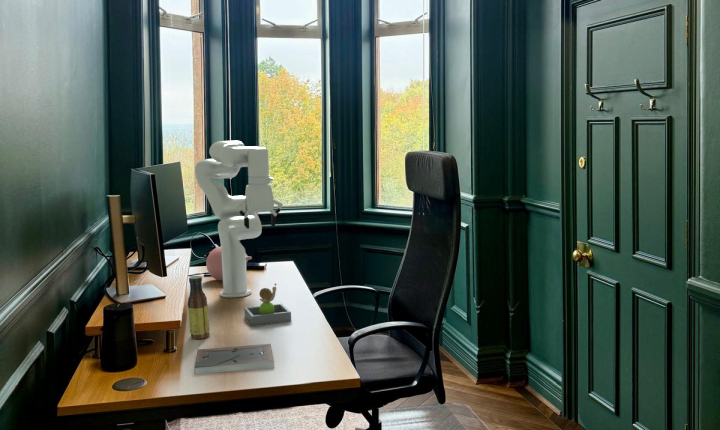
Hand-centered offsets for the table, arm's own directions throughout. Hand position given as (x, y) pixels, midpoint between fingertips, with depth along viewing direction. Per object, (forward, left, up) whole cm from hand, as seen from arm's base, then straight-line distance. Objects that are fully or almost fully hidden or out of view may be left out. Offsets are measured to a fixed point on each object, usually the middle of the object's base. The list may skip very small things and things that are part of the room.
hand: (260, 227), depth 257 cm
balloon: (-52, -3, -30) cm, 60 cm away
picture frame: (+58, -22, -31) cm, 69 cm away
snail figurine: (+19, -2, -29) cm, 35 cm away
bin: (+19, -3, -30) cm, 36 cm away
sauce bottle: (+30, -28, -30) cm, 51 cm away
